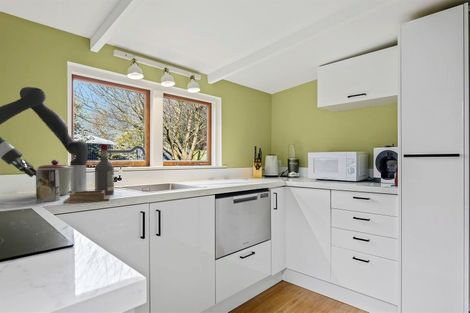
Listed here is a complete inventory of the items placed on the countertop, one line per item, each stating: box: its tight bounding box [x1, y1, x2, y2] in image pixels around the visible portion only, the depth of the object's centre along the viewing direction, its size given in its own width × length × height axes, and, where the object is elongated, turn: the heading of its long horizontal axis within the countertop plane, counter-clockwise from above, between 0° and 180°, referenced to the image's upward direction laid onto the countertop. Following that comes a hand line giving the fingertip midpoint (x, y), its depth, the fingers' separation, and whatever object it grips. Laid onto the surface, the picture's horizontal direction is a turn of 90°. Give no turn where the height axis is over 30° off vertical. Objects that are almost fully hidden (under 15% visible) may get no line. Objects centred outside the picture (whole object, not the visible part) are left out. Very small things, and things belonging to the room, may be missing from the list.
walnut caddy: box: [63, 190, 111, 204], centre depth 146 cm, size 16×20×4 cm
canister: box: [35, 159, 73, 197], centre depth 164 cm, size 18×18×21 cm
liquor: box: [94, 143, 115, 196], centre depth 165 cm, size 9×9×30 cm
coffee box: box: [35, 169, 61, 203], centre depth 144 cm, size 9×6×16 cm
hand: (35, 175), depth 142 cm, fingers open, 8 cm apart
